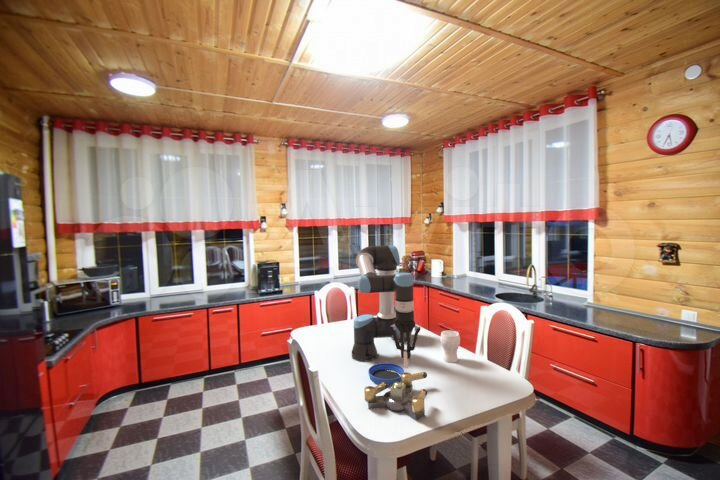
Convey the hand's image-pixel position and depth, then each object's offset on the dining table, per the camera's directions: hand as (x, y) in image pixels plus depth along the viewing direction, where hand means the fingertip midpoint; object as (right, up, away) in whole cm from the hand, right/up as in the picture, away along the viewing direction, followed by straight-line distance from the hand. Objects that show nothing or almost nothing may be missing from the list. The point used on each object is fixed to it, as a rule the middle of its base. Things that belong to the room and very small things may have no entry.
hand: (406, 365), depth 132 cm
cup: (+31, -14, +44) cm, 56 cm away
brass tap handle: (+6, -14, +15) cm, 21 cm away
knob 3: (-12, -15, +4) cm, 19 cm away
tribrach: (-2, -17, +5) cm, 18 cm away
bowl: (-6, -17, +26) cm, 32 cm away
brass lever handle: (+6, -14, -4) cm, 16 cm away
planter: (+7, -13, +80) cm, 81 cm away
